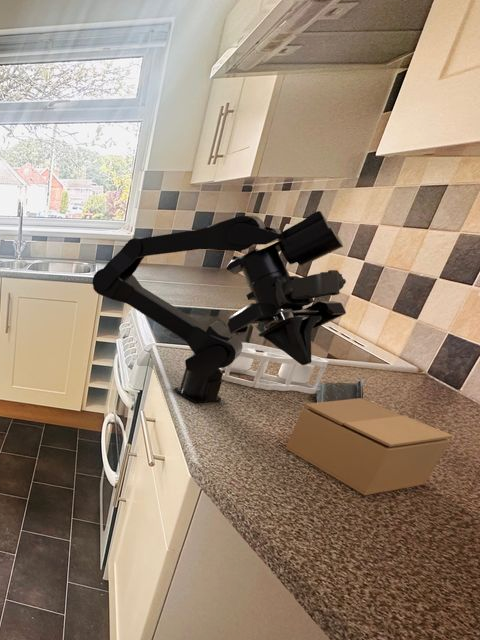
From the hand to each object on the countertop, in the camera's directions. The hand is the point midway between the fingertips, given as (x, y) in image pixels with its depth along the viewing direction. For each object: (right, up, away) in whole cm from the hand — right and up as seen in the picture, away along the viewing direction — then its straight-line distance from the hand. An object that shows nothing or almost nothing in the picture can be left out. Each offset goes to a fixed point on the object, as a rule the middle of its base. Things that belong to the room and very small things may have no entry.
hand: (306, 364), depth 67 cm
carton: (+5, -16, -2) cm, 17 cm away
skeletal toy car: (+12, -3, +28) cm, 31 cm away
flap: (+5, -8, -2) cm, 9 cm away
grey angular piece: (+21, -7, +19) cm, 29 cm away
